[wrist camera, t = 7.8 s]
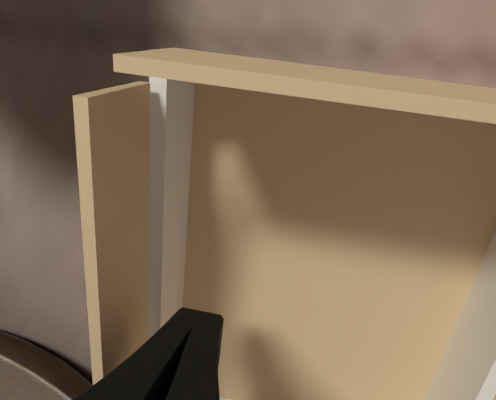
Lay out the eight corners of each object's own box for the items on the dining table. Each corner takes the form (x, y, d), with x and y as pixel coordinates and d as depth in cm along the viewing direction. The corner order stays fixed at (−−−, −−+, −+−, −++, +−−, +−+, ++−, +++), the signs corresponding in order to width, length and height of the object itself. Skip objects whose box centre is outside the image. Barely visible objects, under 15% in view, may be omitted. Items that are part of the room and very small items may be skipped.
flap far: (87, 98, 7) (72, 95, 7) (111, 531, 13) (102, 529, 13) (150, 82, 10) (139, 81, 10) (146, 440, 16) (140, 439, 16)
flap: (762, 160, 6) (776, 141, 6) (113, 72, 7) (112, 53, 7) (611, 117, 9) (618, 103, 8) (174, 59, 10) (174, 47, 9)
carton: (666, 110, 11) (789, 132, 8) (477, 457, 17) (509, 537, 14) (185, 49, 13) (147, 49, 10) (170, 387, 19) (145, 447, 16)
